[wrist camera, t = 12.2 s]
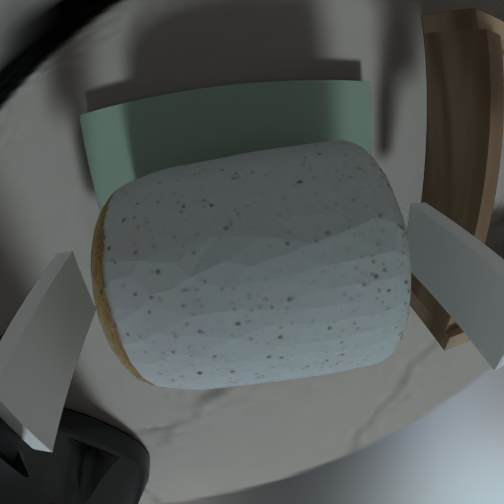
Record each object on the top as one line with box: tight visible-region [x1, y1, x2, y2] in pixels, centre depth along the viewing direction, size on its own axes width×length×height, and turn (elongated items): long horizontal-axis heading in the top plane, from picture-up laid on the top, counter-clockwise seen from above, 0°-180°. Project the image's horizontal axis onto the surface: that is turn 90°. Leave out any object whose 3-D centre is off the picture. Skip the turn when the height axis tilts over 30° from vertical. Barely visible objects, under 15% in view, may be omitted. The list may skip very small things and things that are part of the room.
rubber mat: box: [79, 80, 371, 212], centre depth 14 cm, size 12×12×1 cm
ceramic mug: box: [91, 140, 411, 390], centre depth 11 cm, size 11×8×8 cm
